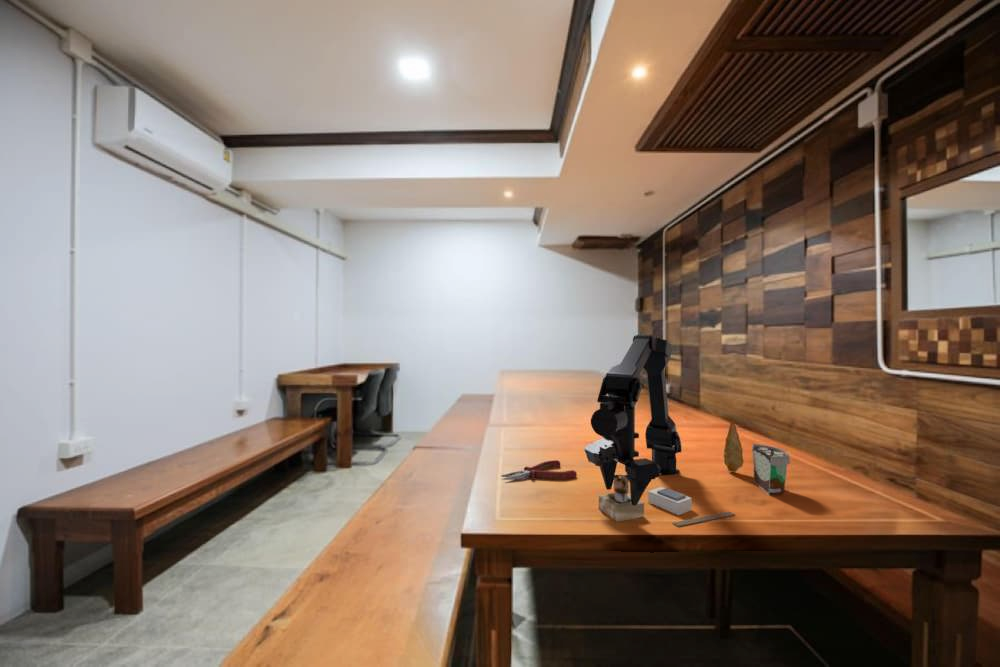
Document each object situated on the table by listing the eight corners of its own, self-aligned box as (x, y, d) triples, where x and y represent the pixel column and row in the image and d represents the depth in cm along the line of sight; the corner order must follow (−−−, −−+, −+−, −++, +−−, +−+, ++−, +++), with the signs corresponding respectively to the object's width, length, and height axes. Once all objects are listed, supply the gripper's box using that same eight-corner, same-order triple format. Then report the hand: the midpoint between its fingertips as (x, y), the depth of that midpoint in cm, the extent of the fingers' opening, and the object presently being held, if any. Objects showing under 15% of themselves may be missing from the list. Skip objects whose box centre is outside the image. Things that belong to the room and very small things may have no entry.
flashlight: (622, 508, 95) (622, 473, 95) (631, 514, 92) (631, 478, 92) (610, 510, 94) (610, 475, 94) (619, 516, 91) (619, 480, 91)
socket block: (598, 508, 95) (598, 495, 95) (624, 504, 97) (624, 491, 97) (617, 521, 88) (617, 507, 88) (644, 516, 91) (644, 503, 91)
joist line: (672, 523, 87) (672, 522, 87) (729, 512, 93) (729, 511, 93) (678, 526, 86) (678, 525, 86) (734, 515, 92) (734, 514, 92)
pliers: (495, 474, 118) (495, 465, 118) (558, 467, 125) (558, 458, 125) (510, 489, 107) (511, 479, 107) (578, 480, 114) (578, 471, 114)
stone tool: (738, 470, 121) (738, 419, 121) (744, 473, 119) (744, 421, 118) (722, 471, 120) (722, 419, 120) (727, 474, 118) (728, 421, 118)
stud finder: (647, 503, 98) (648, 489, 98) (661, 499, 101) (661, 484, 101) (678, 516, 92) (678, 500, 92) (691, 511, 94) (691, 495, 94)
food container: (799, 499, 100) (800, 458, 100) (771, 497, 101) (772, 457, 101) (776, 481, 112) (777, 444, 112) (751, 479, 114) (752, 443, 113)
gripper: (568, 421, 99) (568, 486, 99) (616, 441, 81) (616, 520, 81) (608, 418, 102) (607, 480, 103) (662, 436, 85) (661, 512, 85)
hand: (620, 496), depth 93 cm, fingers open, 9 cm apart
